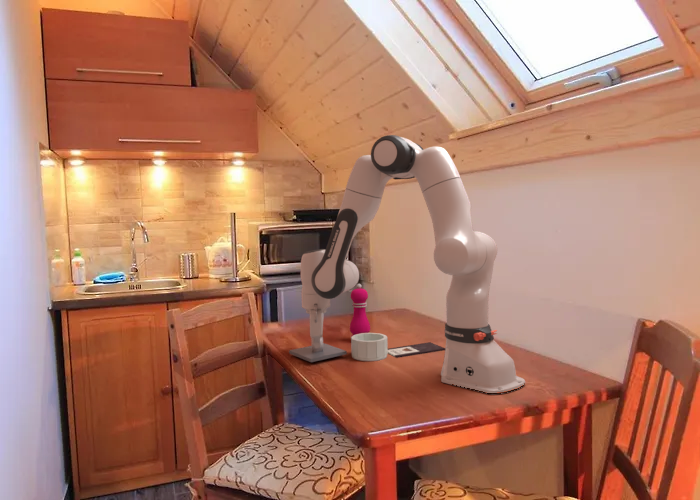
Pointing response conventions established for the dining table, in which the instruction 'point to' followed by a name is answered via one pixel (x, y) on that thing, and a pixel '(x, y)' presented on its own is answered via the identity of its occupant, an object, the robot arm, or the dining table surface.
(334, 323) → the dining table surface
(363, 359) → the bowl
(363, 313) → the pepper mill
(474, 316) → the robot arm
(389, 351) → the chocolate bar
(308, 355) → the lid
